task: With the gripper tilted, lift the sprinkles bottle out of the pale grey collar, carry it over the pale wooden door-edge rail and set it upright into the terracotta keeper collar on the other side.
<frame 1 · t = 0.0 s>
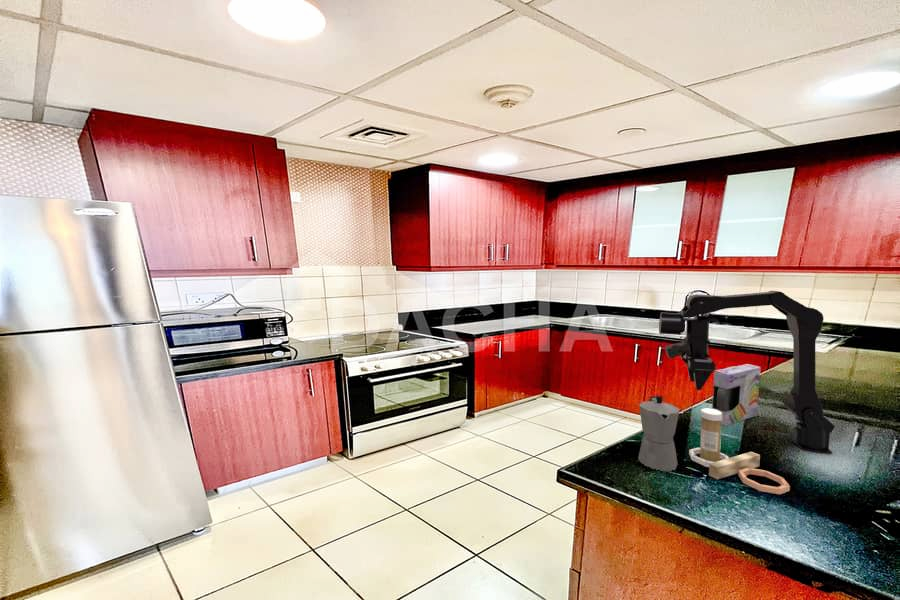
hand: (695, 385, 116), 15 cm above the counter, tool pointing down, fingers open, 9 cm apart
cake pan box: (734, 420, 126), on the counter
coffeepot: (656, 461, 99), on the counter
sprinkles bottle: (709, 460, 99), resting in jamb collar
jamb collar: (709, 459, 99), on the counter
keeper collar: (762, 482, 89), on the counter
door edge rail: (734, 470, 94), on the counter
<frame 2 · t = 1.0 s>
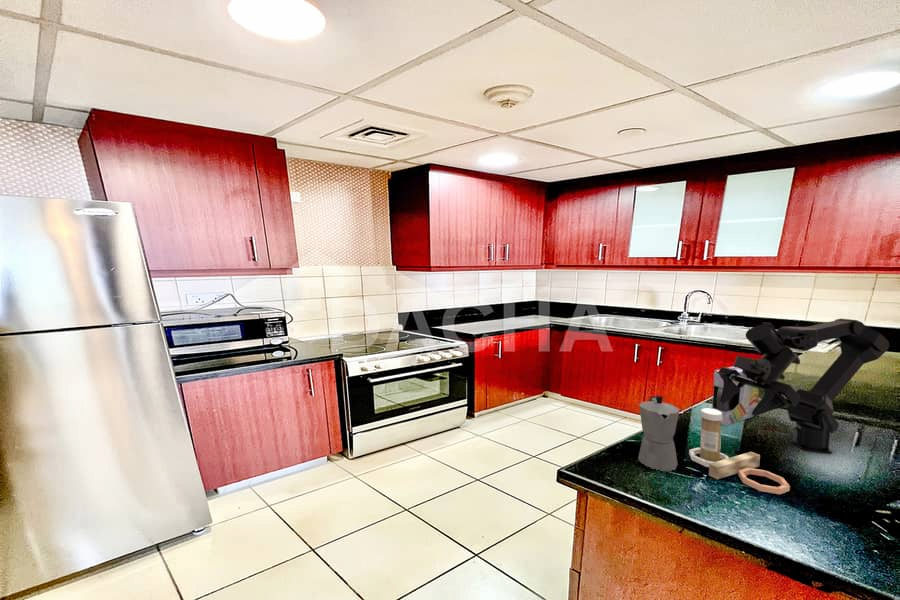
hand: (736, 408, 100), 13 cm above the counter, tool tilted 45°, fingers open, 9 cm apart
nothing on the counter moved.
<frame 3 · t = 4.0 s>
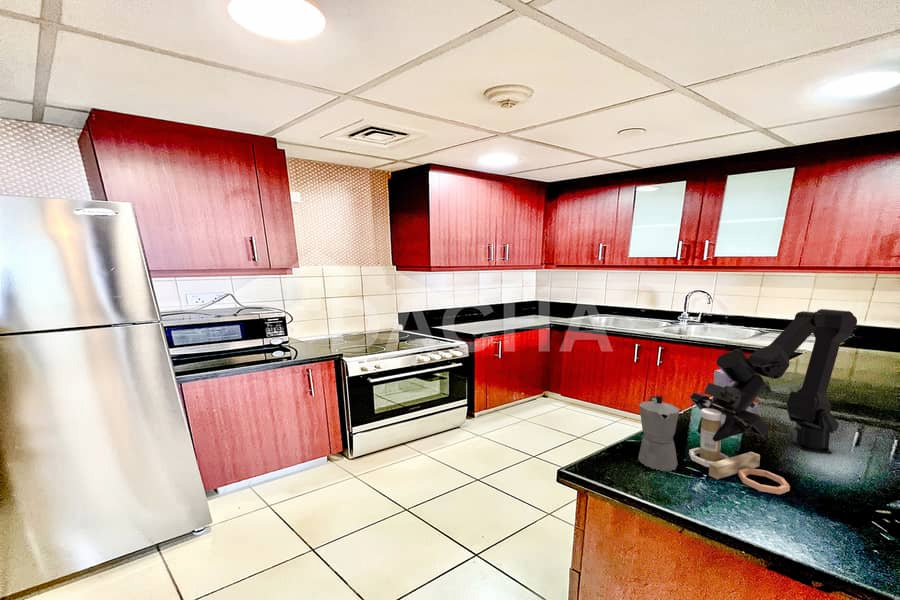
hand: (706, 436, 99), 7 cm above the counter, tool tilted 45°, fingers closed on sprinkles bottle, 4 cm apart
sprinkles bottle: (709, 460, 99), resting in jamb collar, touching gripper
everything else where it was.
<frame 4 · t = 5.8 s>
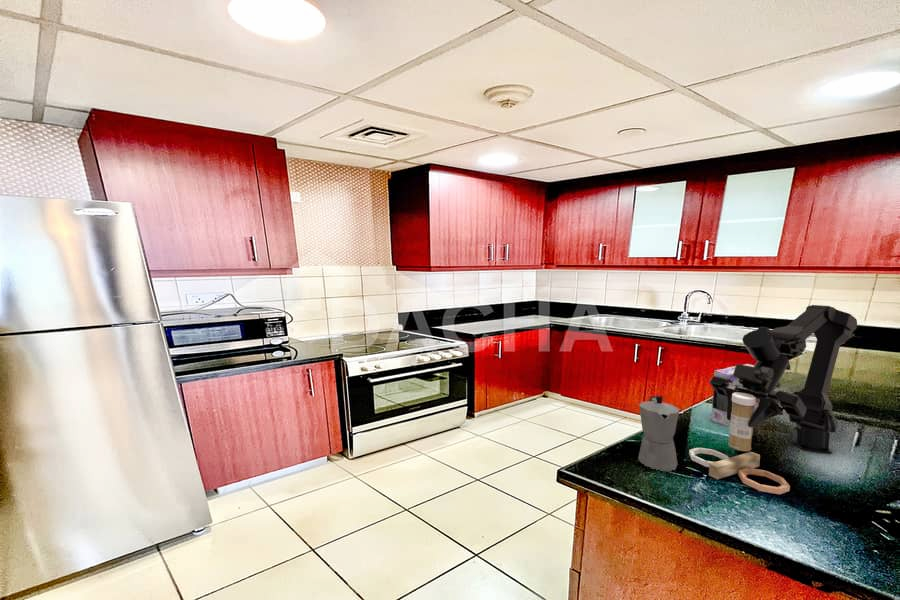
hand: (738, 422, 91), 13 cm above the counter, tool tilted 45°, fingers closed on sprinkles bottle, 4 cm apart
sprinkles bottle: (739, 448, 93), point 6 cm above the counter, touching gripper
everything else where it was.
when the fingers open (8 cm above the counter, at t = 7.8 s): sprinkles bottle drops 1 cm, resting in keeper collar.
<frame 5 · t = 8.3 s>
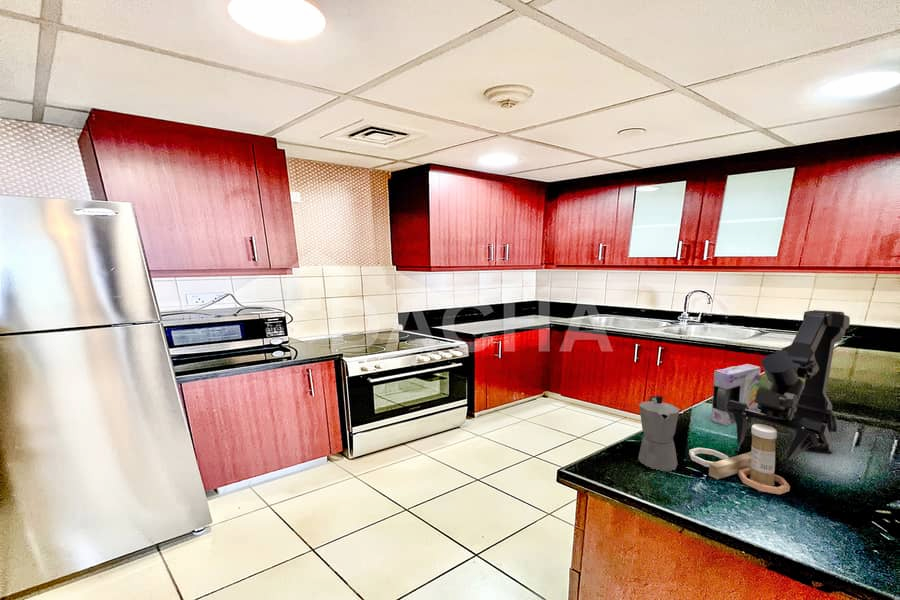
hand: (762, 451, 87), 8 cm above the counter, tool tilted 45°, fingers open, 9 cm apart
sprinkles bottle: (761, 482, 89), resting in keeper collar
everything else where it was.
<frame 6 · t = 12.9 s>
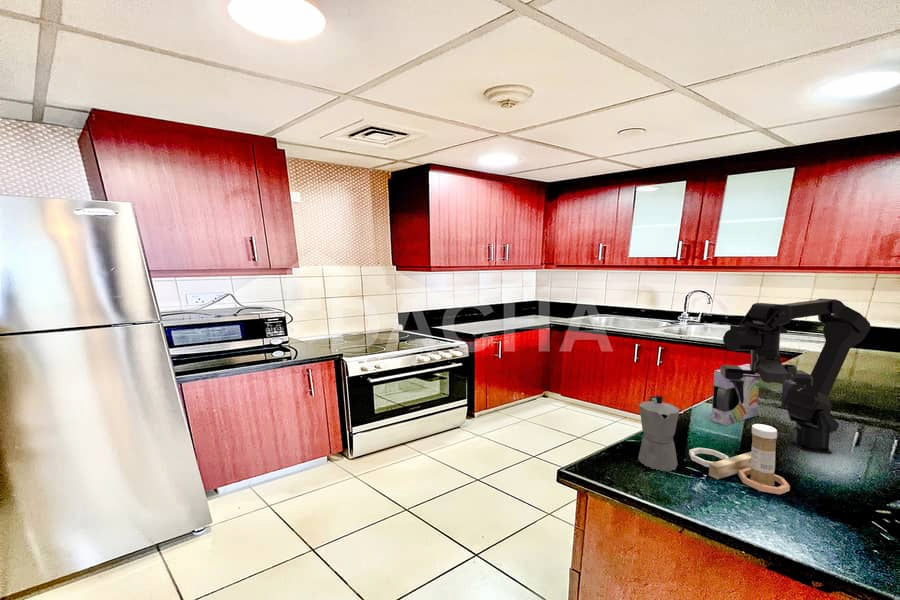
hand: (762, 405, 103), 13 cm above the counter, tool pointing down, fingers open, 9 cm apart
nothing on the counter moved.
at the end: sprinkles bottle 0.3 cm from the keeper collar (horizontally); sprinkles bottle tilted 0°; the gripper is holding nothing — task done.
